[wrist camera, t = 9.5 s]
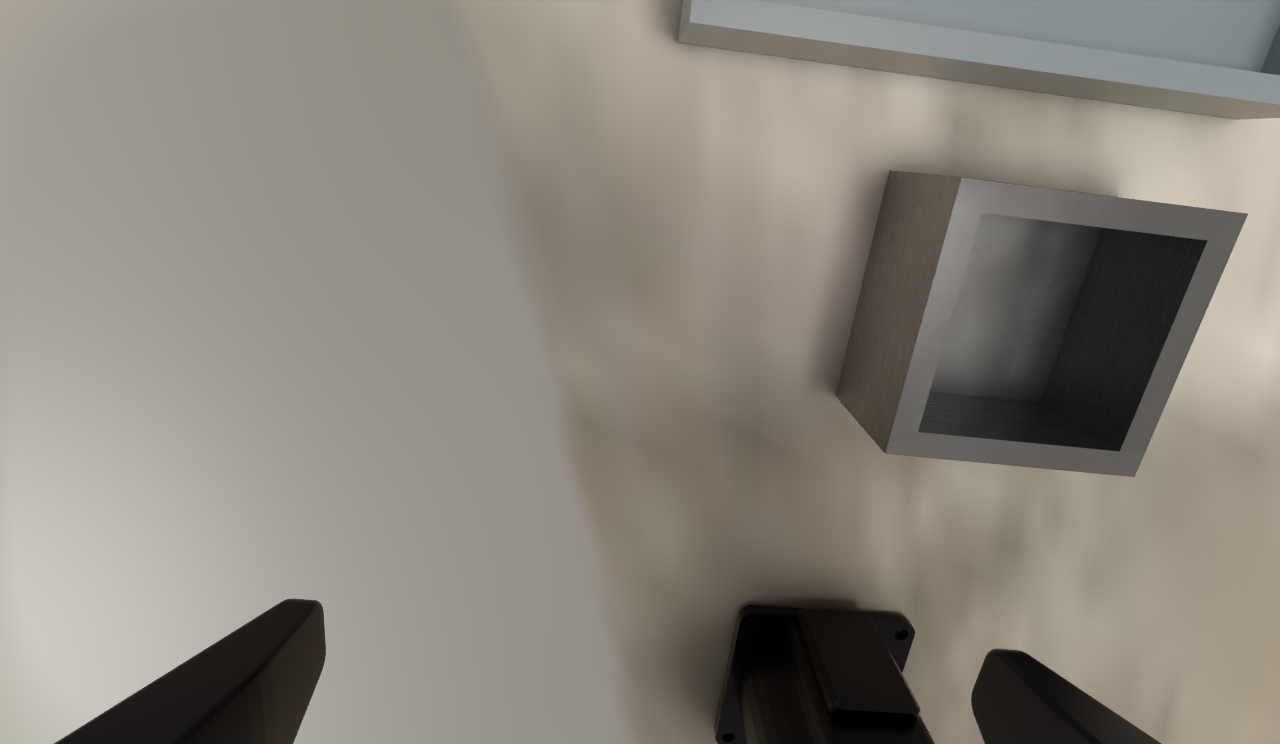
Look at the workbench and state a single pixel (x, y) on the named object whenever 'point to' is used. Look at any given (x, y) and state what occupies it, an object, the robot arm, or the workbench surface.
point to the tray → (1028, 45)
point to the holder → (1027, 321)
